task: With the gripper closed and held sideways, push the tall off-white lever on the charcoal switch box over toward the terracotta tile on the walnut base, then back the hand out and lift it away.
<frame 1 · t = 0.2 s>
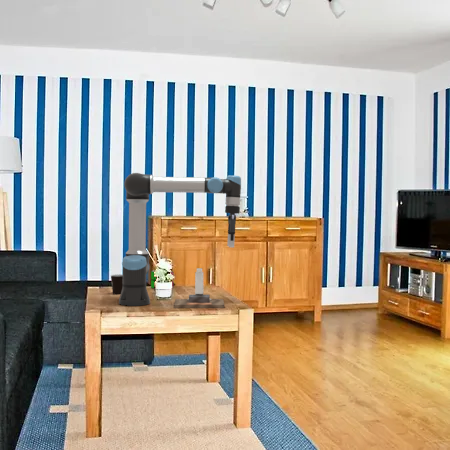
hand: (230, 246, 325), 27 cm above the table, tool pointing down, fingers open, 13 cm apart
switch lever: (199, 281, 311), point 11 cm above the table, hinge at -22.0°
puzzle cube: (162, 288, 368), on the table
coffee mug: (119, 293, 347), on the table
switch base: (199, 304, 308), on the table
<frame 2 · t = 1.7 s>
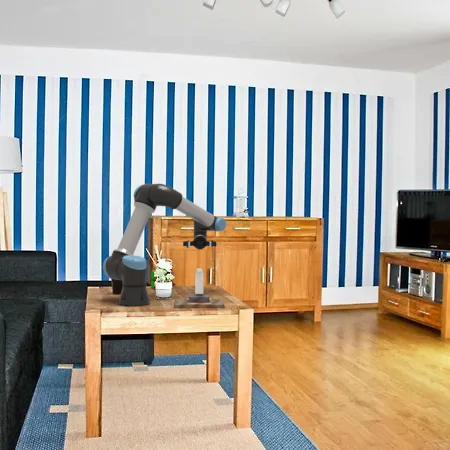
hand: (199, 245, 327), 28 cm above the table, tool horizontal, fingers open, 10 cm apart
nothing on the table moved.
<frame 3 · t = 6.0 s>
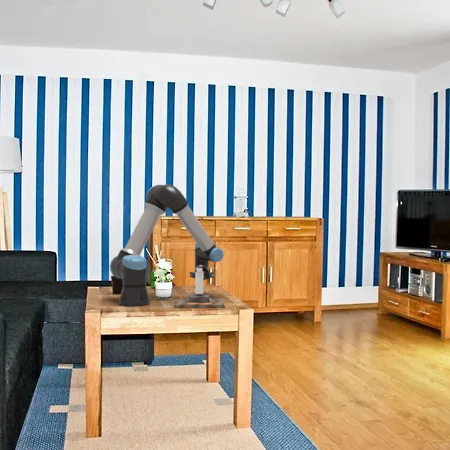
hand: (202, 278, 312), 13 cm above the table, tool horizontal, fingers closed
switch lever: (199, 281, 310), point 11 cm above the table, hinge at -17.5°, touching gripper
everything else where it was.
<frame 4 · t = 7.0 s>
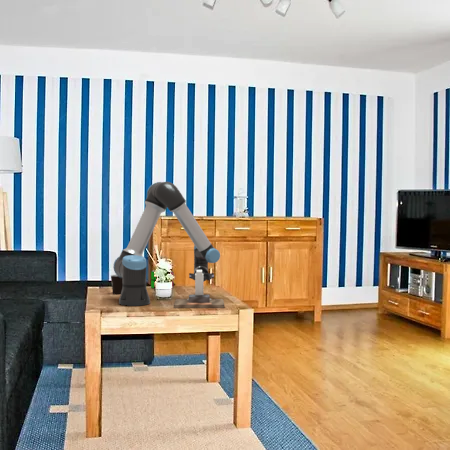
hand: (202, 279, 307), 13 cm above the table, tool horizontal, fingers closed
switch lever: (199, 282, 306), point 11 cm above the table, hinge at 20.4°, touching gripper
everything else where it was.
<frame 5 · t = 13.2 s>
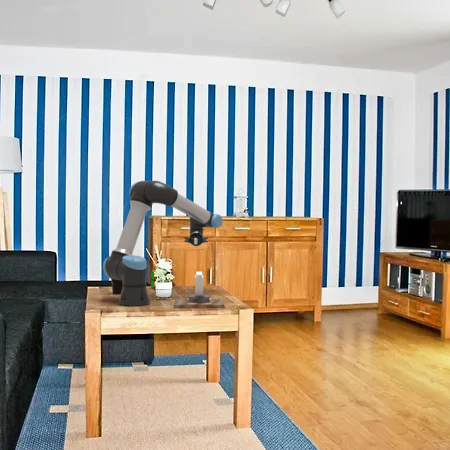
hand: (195, 241, 324), 30 cm above the table, tool horizontal, fingers closed
switch lever: (199, 284, 304), point 11 cm above the table, hinge at 29.5°
everything else where it was.
at the end: switch lever at +30° (first picture: -22°) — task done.
